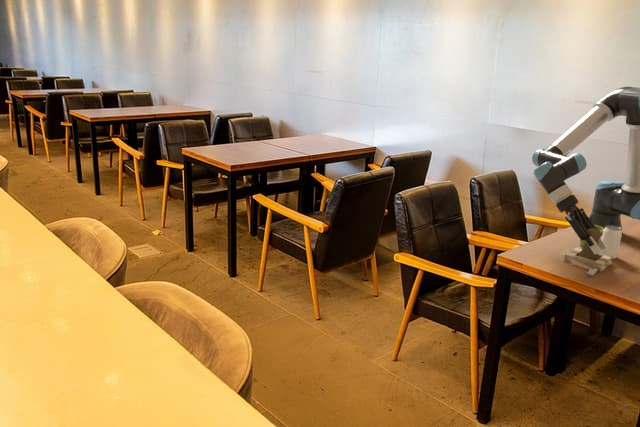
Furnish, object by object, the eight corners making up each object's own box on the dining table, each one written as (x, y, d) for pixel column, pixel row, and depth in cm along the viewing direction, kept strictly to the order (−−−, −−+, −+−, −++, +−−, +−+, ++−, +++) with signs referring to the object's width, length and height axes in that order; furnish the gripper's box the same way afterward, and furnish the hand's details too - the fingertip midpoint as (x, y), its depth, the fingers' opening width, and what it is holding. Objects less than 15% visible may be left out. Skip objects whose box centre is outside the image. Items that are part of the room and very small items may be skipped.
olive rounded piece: (576, 254, 205) (581, 227, 202) (587, 253, 207) (593, 226, 204) (589, 260, 200) (595, 232, 196) (601, 258, 202) (607, 231, 199)
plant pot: (585, 251, 216) (589, 231, 213) (570, 243, 225) (574, 223, 222) (605, 251, 218) (609, 230, 215) (589, 242, 227) (593, 223, 224)
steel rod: (595, 268, 199) (596, 263, 198) (600, 270, 197) (601, 265, 197) (585, 276, 192) (586, 270, 191) (591, 277, 190) (592, 272, 190)
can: (618, 260, 208) (625, 231, 205) (600, 258, 209) (607, 229, 206) (613, 254, 214) (619, 225, 211) (596, 252, 216) (602, 224, 212)
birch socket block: (575, 254, 213) (577, 246, 212) (611, 263, 204) (612, 256, 203) (563, 262, 204) (565, 254, 203) (600, 272, 195) (601, 265, 194)
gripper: (564, 200, 215) (599, 250, 209) (546, 208, 202) (583, 261, 196) (580, 190, 210) (617, 240, 204) (563, 197, 197) (602, 252, 191)
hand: (600, 250), depth 200 cm, fingers closed on olive rounded piece, 5 cm apart
